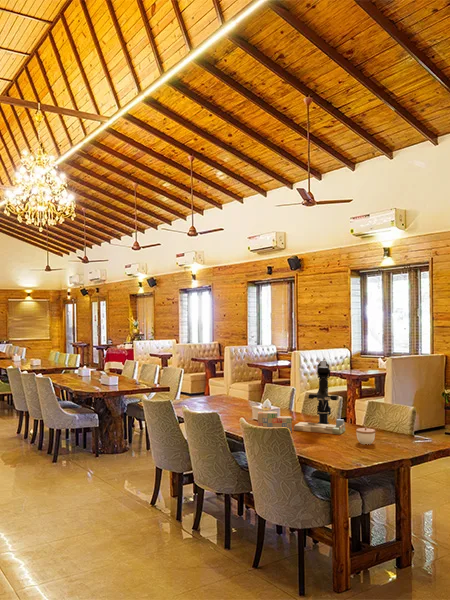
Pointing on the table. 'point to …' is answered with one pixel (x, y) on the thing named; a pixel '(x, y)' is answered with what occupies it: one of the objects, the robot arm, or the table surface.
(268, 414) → the stack of blocks
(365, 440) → the lidded jar
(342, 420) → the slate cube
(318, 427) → the board
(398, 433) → the table surface
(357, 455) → the table surface
